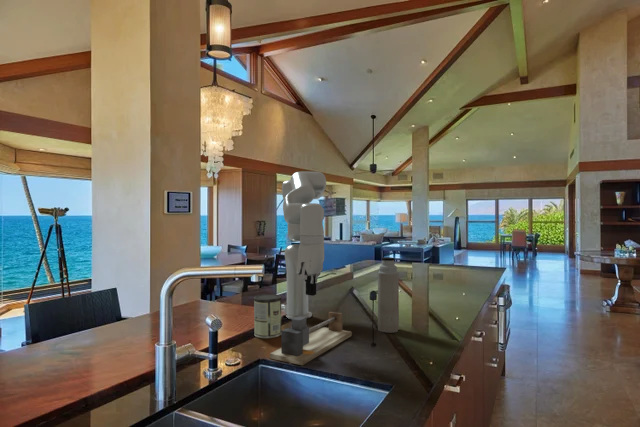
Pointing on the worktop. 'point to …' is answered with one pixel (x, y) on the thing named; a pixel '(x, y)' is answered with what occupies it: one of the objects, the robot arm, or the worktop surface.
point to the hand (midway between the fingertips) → (310, 294)
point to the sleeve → (301, 328)
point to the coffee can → (267, 316)
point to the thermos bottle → (388, 296)
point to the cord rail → (310, 341)
